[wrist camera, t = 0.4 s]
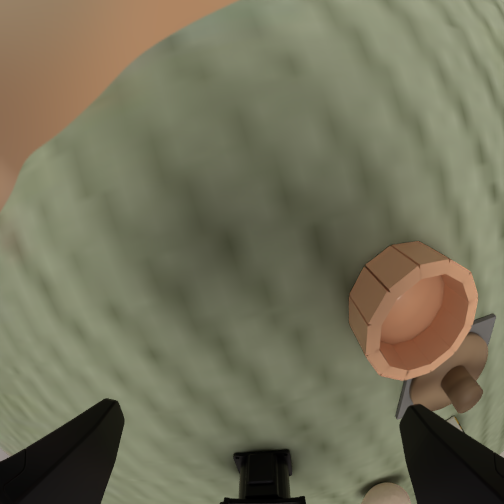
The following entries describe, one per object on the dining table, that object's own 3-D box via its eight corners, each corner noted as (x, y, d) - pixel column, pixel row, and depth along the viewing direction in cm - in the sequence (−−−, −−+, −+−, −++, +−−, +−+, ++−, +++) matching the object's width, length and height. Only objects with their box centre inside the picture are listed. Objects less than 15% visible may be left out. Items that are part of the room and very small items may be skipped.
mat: (469, 388, 25) (471, 391, 24) (395, 416, 26) (396, 419, 25) (493, 313, 22) (496, 316, 21) (411, 339, 22) (414, 343, 22)
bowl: (439, 334, 22) (463, 360, 18) (347, 357, 23) (361, 391, 19) (451, 235, 20) (484, 251, 15) (347, 251, 20) (369, 273, 16)
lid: (469, 389, 24) (488, 415, 19) (401, 415, 25) (416, 447, 20) (492, 321, 21) (519, 345, 17) (418, 346, 22) (442, 379, 17)
